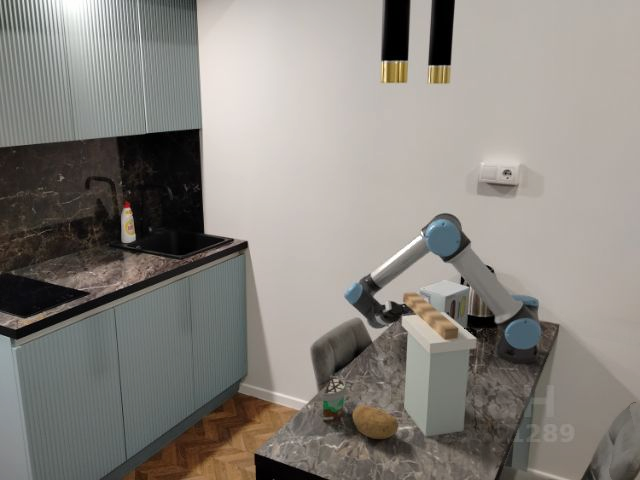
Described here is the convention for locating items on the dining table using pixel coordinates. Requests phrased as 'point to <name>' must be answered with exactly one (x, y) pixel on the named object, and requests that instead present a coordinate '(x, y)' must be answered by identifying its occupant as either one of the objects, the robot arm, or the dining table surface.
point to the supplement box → (448, 299)
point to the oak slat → (430, 315)
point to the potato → (374, 422)
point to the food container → (333, 399)
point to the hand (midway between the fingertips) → (409, 303)
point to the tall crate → (436, 376)
